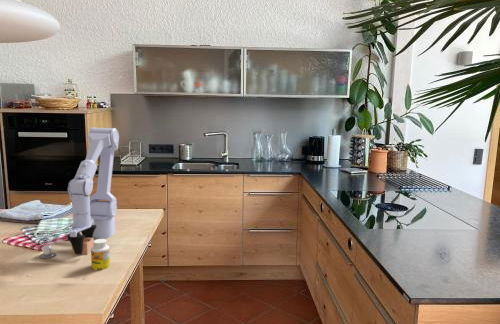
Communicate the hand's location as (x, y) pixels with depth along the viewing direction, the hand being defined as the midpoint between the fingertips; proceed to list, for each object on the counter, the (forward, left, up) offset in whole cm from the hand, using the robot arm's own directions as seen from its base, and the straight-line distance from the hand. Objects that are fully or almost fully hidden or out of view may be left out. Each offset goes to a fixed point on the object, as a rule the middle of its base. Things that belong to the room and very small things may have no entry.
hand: (83, 249), depth 138 cm
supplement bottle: (+12, +11, -2) cm, 16 cm away
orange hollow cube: (0, 0, -1) cm, 1 cm away
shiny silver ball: (+5, -10, -2) cm, 11 cm away
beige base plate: (+1, -6, -2) cm, 6 cm away
